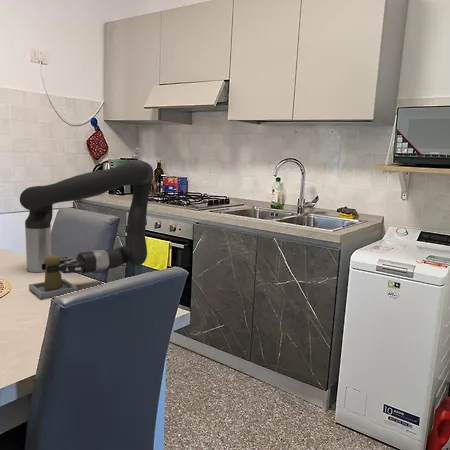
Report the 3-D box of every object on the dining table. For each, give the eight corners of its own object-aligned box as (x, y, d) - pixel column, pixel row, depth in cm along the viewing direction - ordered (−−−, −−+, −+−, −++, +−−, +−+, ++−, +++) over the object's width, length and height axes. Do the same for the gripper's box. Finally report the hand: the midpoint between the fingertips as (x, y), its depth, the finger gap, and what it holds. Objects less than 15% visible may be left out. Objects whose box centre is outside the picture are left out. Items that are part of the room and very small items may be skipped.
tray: (29, 290, 151) (29, 284, 151) (64, 284, 159) (64, 278, 159) (40, 299, 142) (40, 293, 142) (77, 293, 150) (77, 287, 150)
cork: (56, 290, 147) (55, 258, 145) (40, 288, 148) (38, 256, 146) (66, 284, 153) (65, 253, 151) (50, 283, 154) (49, 252, 152)
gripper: (84, 247, 163) (36, 253, 152) (101, 255, 152) (51, 262, 141) (85, 267, 164) (37, 274, 153) (102, 276, 154) (51, 284, 143)
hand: (44, 268), depth 147 cm, fingers closed on cork, 4 cm apart
